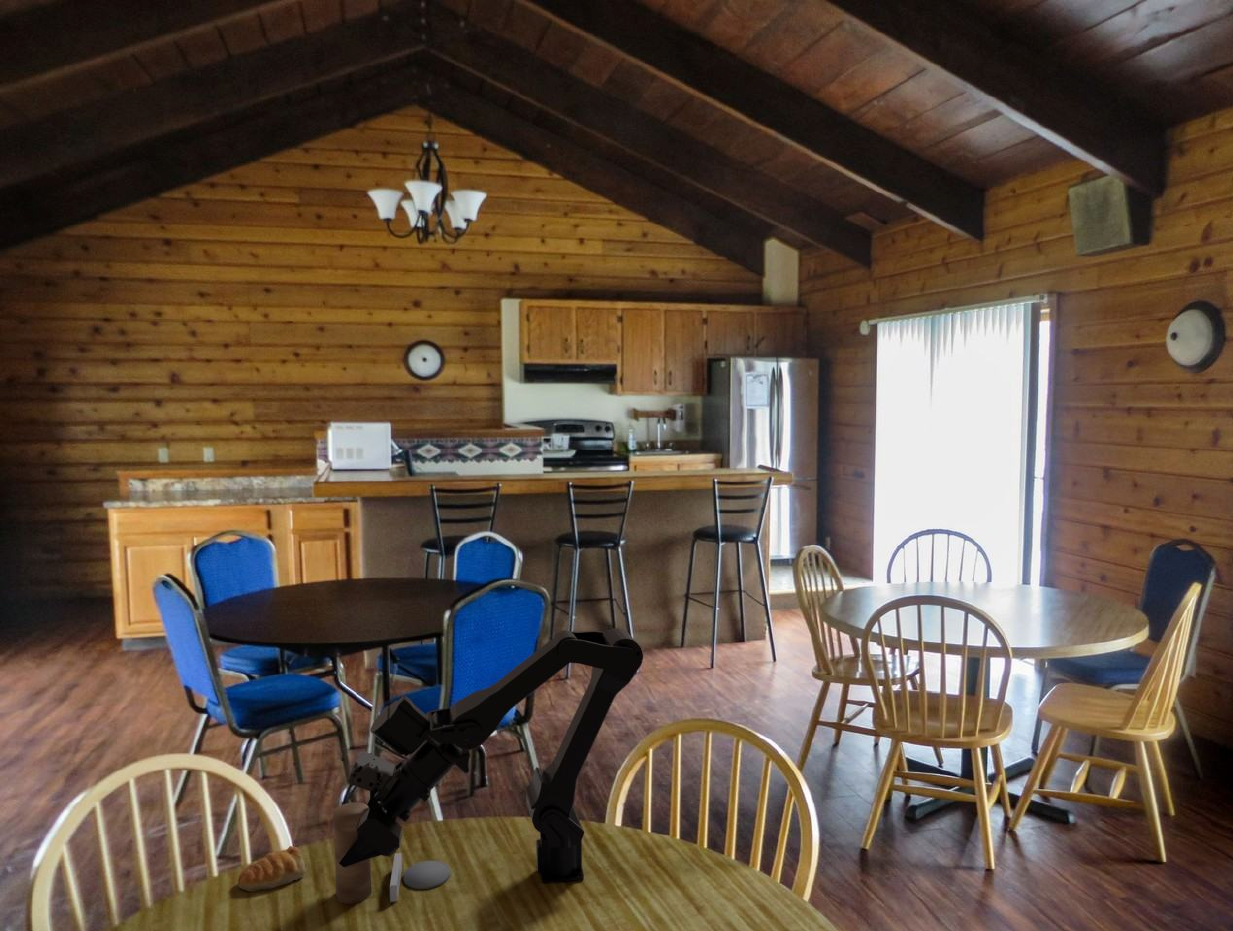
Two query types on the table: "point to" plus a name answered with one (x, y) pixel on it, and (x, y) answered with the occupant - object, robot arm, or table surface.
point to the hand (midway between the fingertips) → (346, 847)
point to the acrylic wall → (395, 877)
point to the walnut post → (353, 878)
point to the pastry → (273, 870)
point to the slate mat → (426, 874)
